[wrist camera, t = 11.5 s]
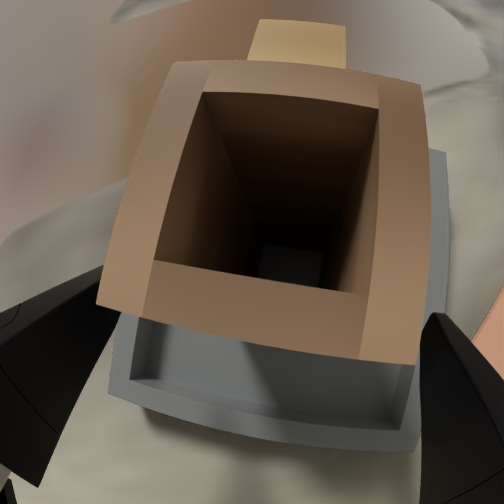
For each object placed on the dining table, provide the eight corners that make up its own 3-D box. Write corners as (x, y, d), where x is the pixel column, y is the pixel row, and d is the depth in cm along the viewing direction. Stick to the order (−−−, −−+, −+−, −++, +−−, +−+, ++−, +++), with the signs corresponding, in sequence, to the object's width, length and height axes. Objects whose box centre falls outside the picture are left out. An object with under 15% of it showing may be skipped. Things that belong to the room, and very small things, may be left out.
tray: (397, 433, 15) (413, 451, 12) (133, 384, 17) (107, 393, 14) (427, 174, 18) (445, 152, 15) (187, 142, 20) (172, 117, 17)
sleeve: (327, 333, 15) (415, 365, 4) (232, 317, 16) (95, 304, 5) (345, 207, 17) (410, 33, 5) (256, 195, 18) (198, 15, 6)
